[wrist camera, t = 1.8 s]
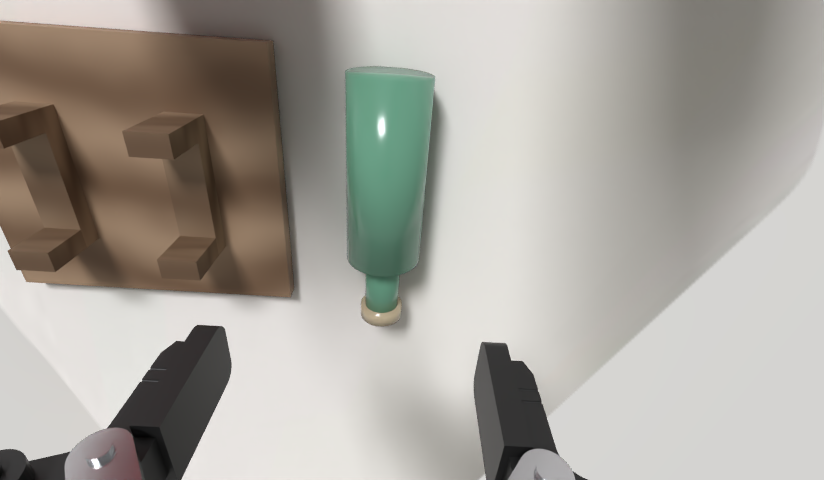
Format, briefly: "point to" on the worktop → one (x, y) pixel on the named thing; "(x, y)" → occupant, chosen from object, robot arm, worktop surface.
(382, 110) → the green bottle
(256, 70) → the walnut bottle rack
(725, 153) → the worktop surface
